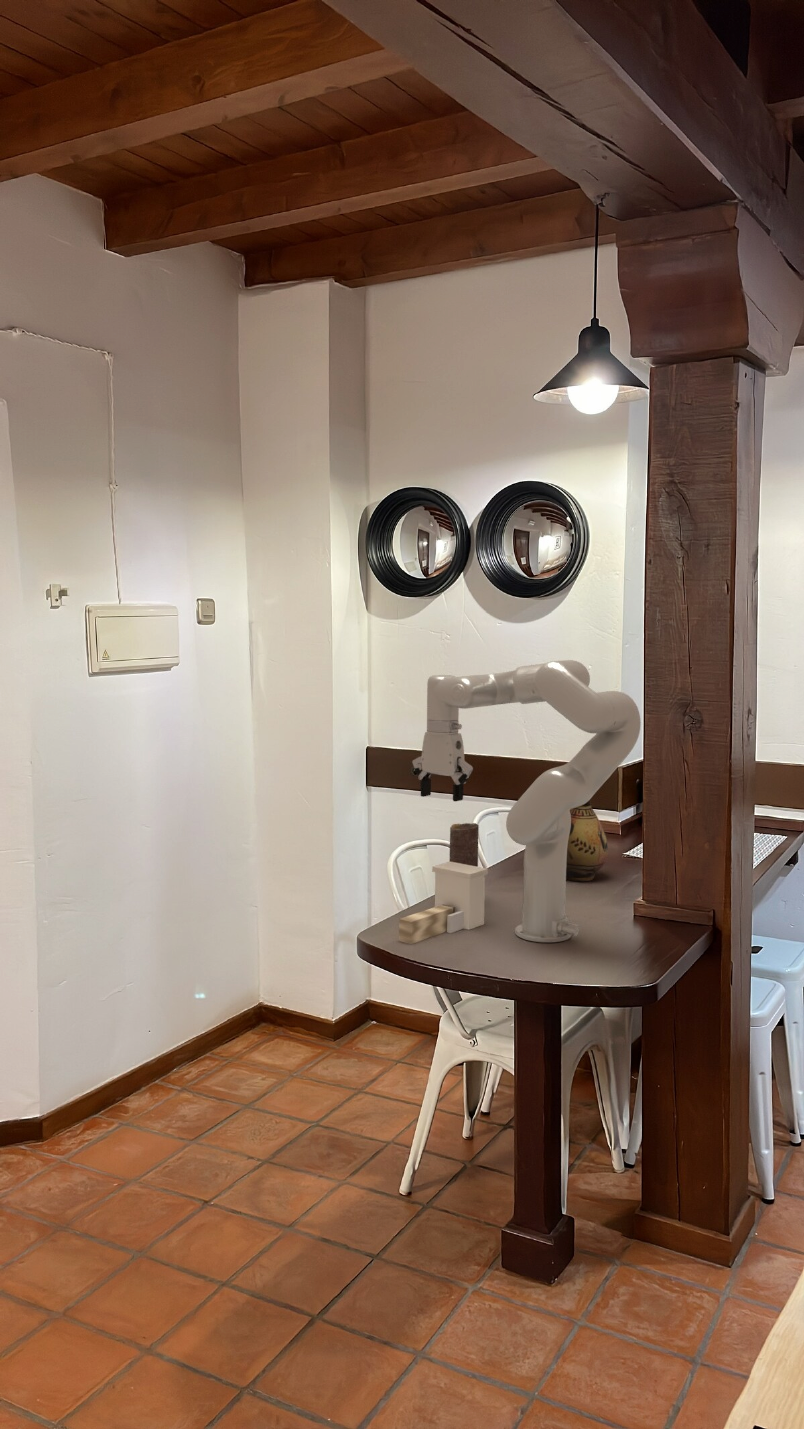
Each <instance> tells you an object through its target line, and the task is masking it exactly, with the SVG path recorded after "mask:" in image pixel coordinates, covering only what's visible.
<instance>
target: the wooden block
mask: <svg viewBox="0 0 804 1429" xmlns="http://www.w3.org/2000/svg"><path fill="white" fill-rule="evenodd" d="M453 913H455V907H453V906H448V905H444V904H442V905H439V906H436V907H435V906H433V907H431V908H428V909H425V910H421V911H419V912H415V913H413V914H410V915H406V916H404V917H401V918H399V919H398V942H401V943H404V944H409V945H413V944H415V943H418V942H421V941H424V940H426V939H429V938H432V937H435V936H438V935H441V934H443V933H445V932H447V915H450V914H453Z"/></svg>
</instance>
